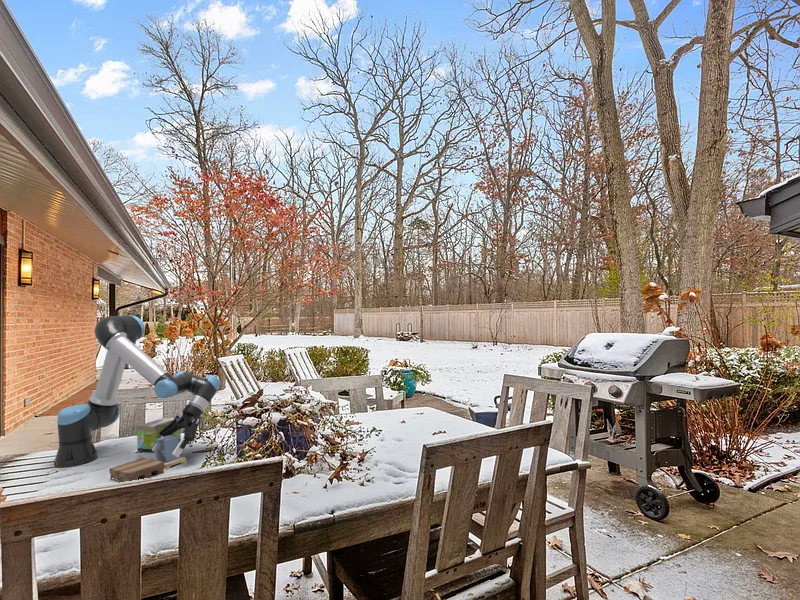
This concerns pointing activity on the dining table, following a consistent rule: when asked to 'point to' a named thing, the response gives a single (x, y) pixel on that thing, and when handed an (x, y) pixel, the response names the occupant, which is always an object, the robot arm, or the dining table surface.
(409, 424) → the dining table surface
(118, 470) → the block
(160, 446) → the pallet
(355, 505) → the dining table surface
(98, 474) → the dining table surface
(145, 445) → the tea box
